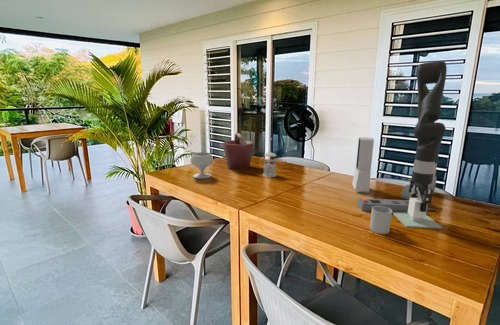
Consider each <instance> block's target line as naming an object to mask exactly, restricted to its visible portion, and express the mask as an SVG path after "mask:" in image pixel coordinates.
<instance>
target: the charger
mask: <svg viewBox="0 0 500 325" xmlns="http://www.w3.org/2000/svg"><path fill="white" fill-rule="evenodd" d="M423 200H424V199H423ZM420 204H421V200H420V198H410V199H409V206H408V214H409V218H410V219H411V220H412V221H423V218H425V217H426V215H427V212H428V211H427V209H428V207H427V208H426V212H421V211H420ZM427 206H428V204H427Z"/></svg>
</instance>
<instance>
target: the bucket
mask: <svg viewBox="0 0 500 325" xmlns="http://www.w3.org/2000/svg"><path fill="white" fill-rule="evenodd" d="M222 147H223V152H224V156H225V162H226V166H227V168H228V169H230V170H237V171H238V170H239V171H242V170H248V169H250V166H251V162H252V156H253V152H254V141H253V140H252V141H251V140H246V139H244V137H243V135H242V134H241V133H239V132H237V133H235V134H234V140H233V139H232V140H226V141H223V142H222Z"/></svg>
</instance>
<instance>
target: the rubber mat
mask: <svg viewBox="0 0 500 325" xmlns="http://www.w3.org/2000/svg"><path fill="white" fill-rule="evenodd" d="M392 216H394V217H395V218H397V220H398V221H399V222H401V224H402V225H403V226H404V227H405V228H416V229H417V228H420V229H443V227H442V226H441V225H440V224H439V223H437V222H436V221H435V220H434V219H433V218H431V217H430V216H428V215H427V214H426V217H425V218H423V221H412V220H411V219H410V218H409V214H408V213H404V212H392Z"/></svg>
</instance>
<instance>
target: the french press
mask: <svg viewBox="0 0 500 325" xmlns="http://www.w3.org/2000/svg"><path fill="white" fill-rule="evenodd" d="M268 140H269V141H270V142H269V145H270V146H269V147H270V148H269V149H270V150H269V152H266V153H265V154H264V156H262V157H260V160H259V165H260V167H261V168H263V173H262V177H267V178H274V177H277V176H278V175H277V173H276V172H277V167H276V166H277V162H276V160H275V159H265V158H266V157H269V158H271V157H277V154H276V153H275V152H274V153H273V152H272V150H271V149H272V148H271V146H272V145H271V142H272V140H273V138H271V137H269V139H268ZM263 159H264V163H263V164H264V166H262V164H261V163H262V162H261V161H262V160H263Z"/></svg>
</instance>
